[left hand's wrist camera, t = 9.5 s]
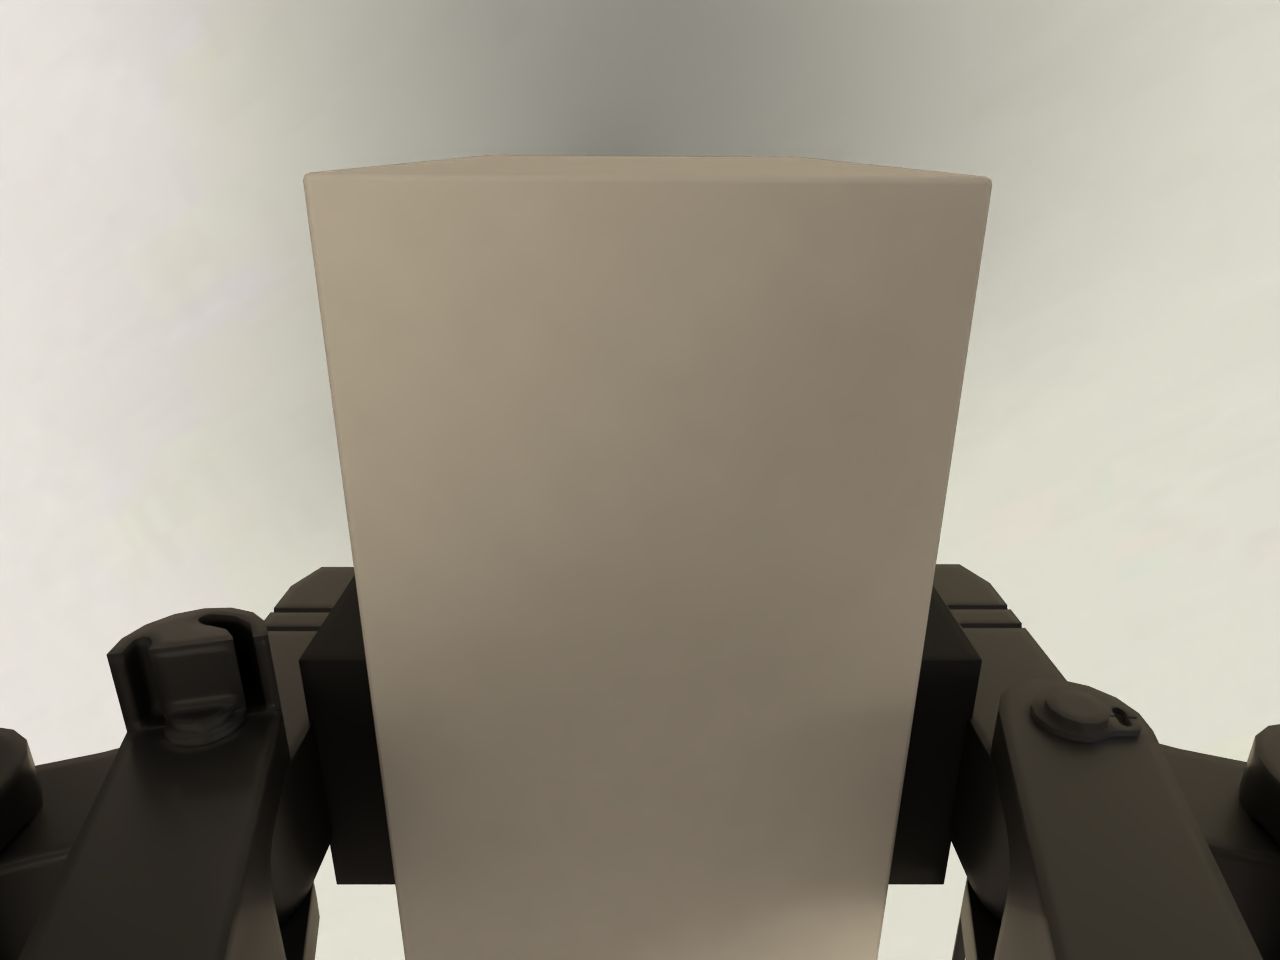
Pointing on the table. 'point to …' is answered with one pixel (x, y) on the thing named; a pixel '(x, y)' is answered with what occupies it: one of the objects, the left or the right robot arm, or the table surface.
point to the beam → (644, 535)
